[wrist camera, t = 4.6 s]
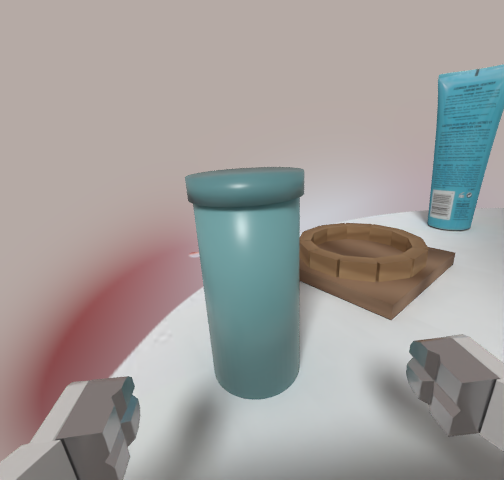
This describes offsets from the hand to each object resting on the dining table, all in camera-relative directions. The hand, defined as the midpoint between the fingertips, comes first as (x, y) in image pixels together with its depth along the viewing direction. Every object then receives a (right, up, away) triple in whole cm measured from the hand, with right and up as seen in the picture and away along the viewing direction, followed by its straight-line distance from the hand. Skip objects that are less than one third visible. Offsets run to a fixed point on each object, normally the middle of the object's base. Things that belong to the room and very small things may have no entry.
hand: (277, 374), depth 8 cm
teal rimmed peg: (-1, -3, +8) cm, 9 cm away
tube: (+27, +6, +30) cm, 41 cm away
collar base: (+10, +1, +20) cm, 22 cm away
